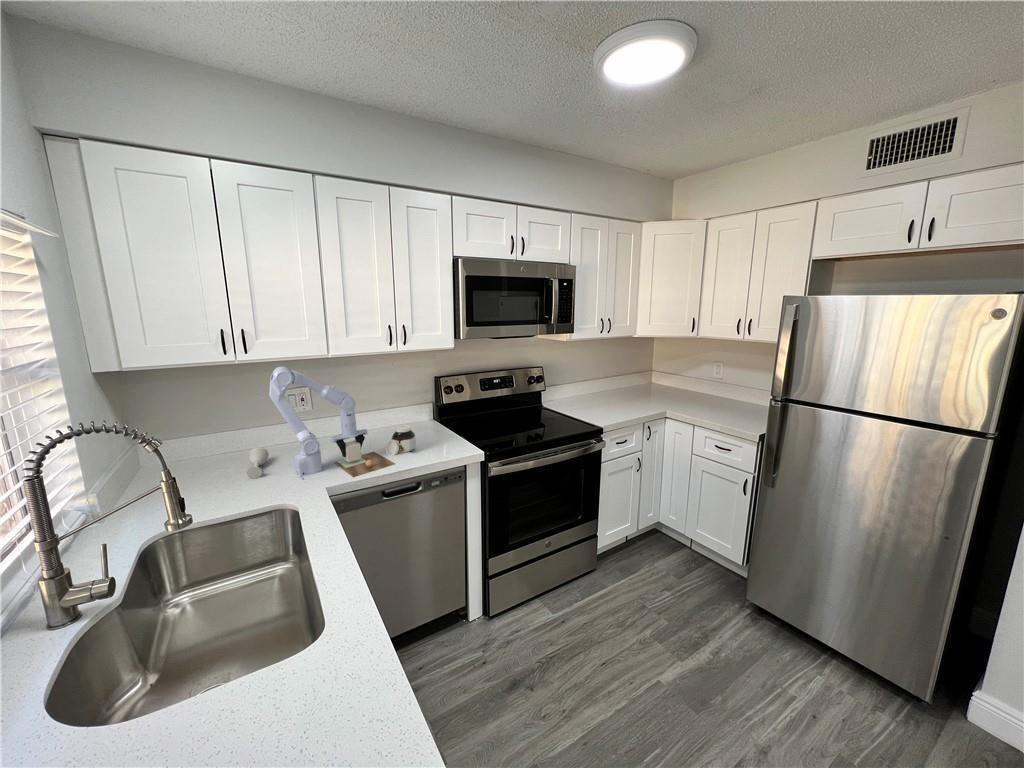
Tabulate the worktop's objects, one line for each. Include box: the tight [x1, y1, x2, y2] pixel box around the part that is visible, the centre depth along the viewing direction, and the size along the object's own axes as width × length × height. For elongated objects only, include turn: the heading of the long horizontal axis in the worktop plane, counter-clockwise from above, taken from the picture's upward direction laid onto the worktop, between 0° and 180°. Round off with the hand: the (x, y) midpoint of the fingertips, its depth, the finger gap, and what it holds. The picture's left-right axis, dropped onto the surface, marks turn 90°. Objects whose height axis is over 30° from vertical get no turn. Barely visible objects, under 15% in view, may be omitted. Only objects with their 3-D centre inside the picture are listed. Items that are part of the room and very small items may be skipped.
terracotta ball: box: [366, 460, 373, 467], centre depth 169 cm, size 3×3×3 cm
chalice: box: [246, 446, 270, 480], centre depth 170 cm, size 7×7×18 cm
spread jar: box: [385, 424, 417, 456], centre depth 186 cm, size 12×11×12 cm
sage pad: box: [336, 458, 366, 468], centre depth 175 cm, size 9×9×1 cm
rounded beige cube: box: [342, 439, 362, 462], centre depth 174 cm, size 6×6×6 cm
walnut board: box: [333, 451, 396, 478], centre depth 173 cm, size 18×20×1 cm
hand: (351, 454), depth 174 cm, fingers closed on rounded beige cube, 6 cm apart
